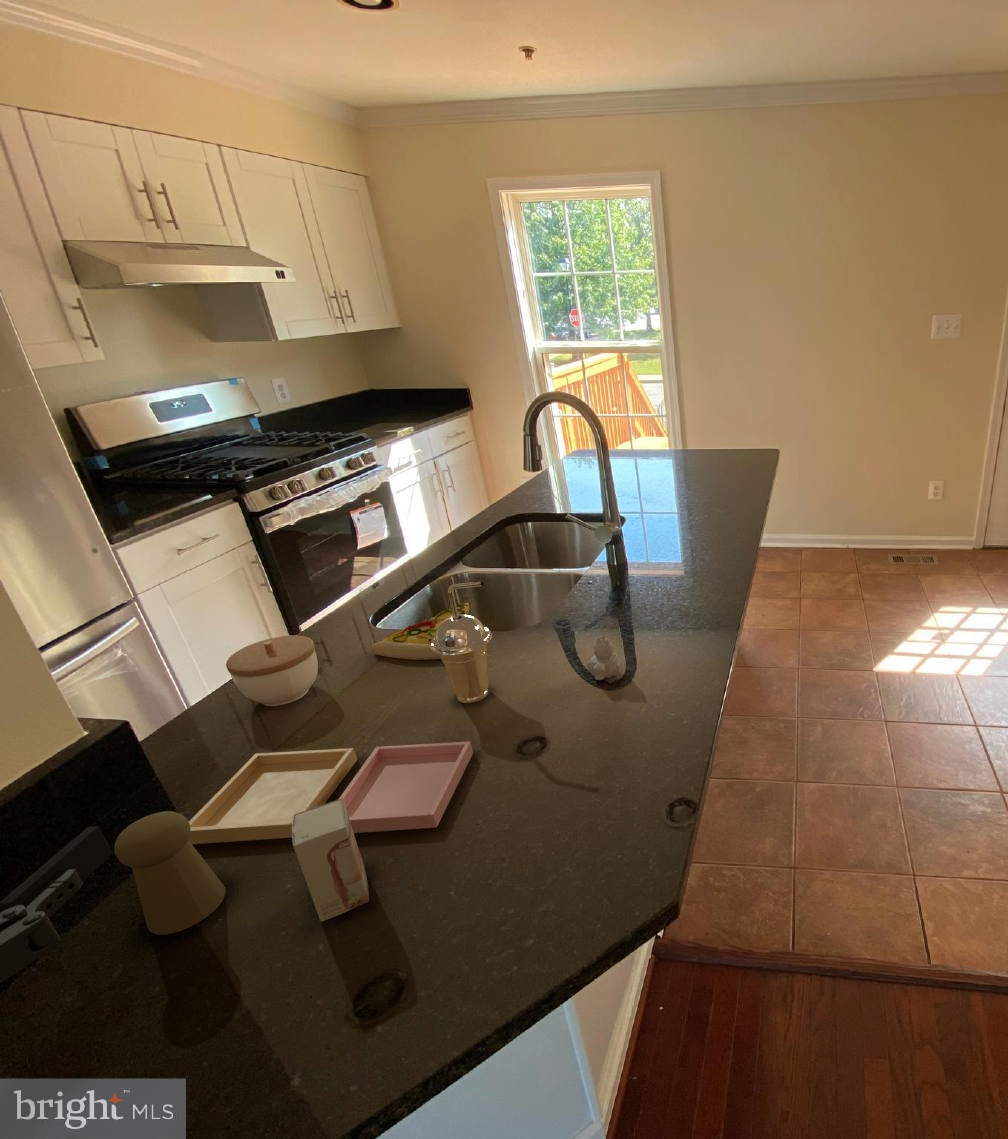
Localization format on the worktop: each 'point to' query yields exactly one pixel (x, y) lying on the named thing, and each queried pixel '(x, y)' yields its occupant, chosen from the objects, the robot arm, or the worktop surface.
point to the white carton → (330, 859)
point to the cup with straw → (464, 650)
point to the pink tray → (405, 786)
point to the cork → (168, 872)
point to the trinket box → (275, 669)
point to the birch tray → (270, 795)
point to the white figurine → (604, 660)
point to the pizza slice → (415, 638)
